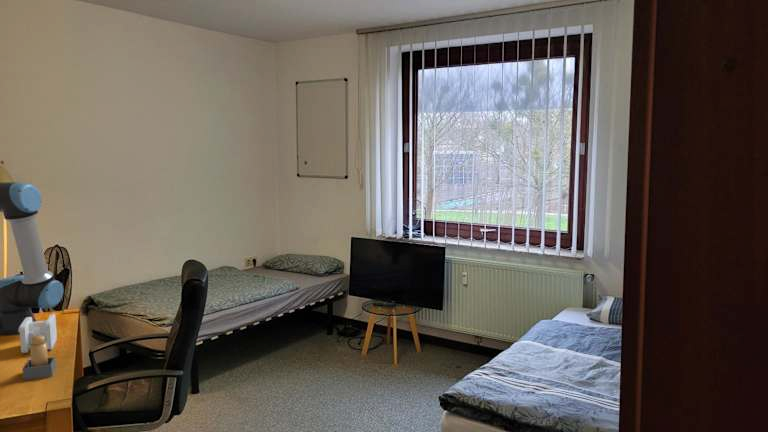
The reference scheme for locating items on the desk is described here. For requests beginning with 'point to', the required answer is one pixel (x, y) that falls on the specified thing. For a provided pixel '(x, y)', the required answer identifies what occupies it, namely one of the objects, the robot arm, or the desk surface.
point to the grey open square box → (39, 370)
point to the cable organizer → (37, 332)
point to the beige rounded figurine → (38, 351)
